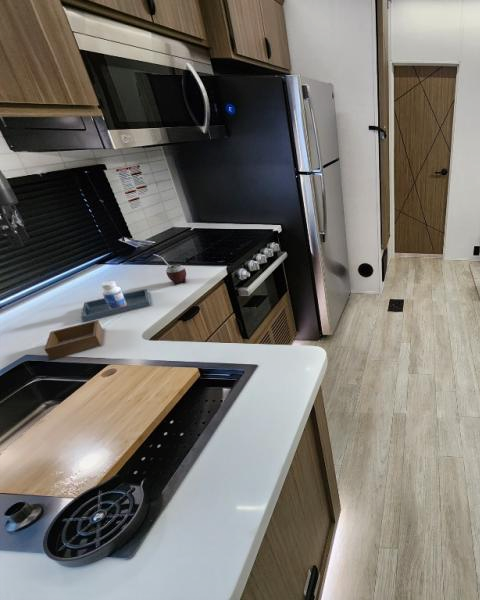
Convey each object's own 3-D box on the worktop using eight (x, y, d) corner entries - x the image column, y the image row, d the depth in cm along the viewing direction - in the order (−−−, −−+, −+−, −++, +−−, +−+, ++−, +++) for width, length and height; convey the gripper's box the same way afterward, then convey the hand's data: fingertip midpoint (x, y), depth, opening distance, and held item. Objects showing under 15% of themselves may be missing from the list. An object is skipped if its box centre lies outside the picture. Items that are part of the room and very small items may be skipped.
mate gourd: (192, 280, 148) (182, 248, 141) (180, 288, 141) (168, 254, 134) (177, 279, 149) (166, 247, 142) (164, 287, 142) (152, 254, 135)
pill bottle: (105, 308, 124) (94, 285, 119) (119, 302, 128) (109, 279, 124) (117, 310, 123) (106, 286, 118) (130, 303, 127) (120, 280, 123)
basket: (51, 361, 97) (44, 349, 95) (57, 343, 105) (50, 331, 103) (102, 347, 103) (95, 335, 101) (103, 331, 111) (97, 319, 109)
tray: (84, 323, 116) (80, 317, 115) (87, 308, 126) (84, 302, 124) (151, 306, 126) (148, 300, 125) (148, 294, 136) (146, 288, 135)
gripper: (-21, 186, 96) (10, 240, 103) (-38, 192, 86) (-3, 252, 93) (15, 183, 100) (43, 235, 107) (3, 189, 90) (34, 246, 97)
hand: (22, 243), depth 100 cm, fingers open, 8 cm apart
